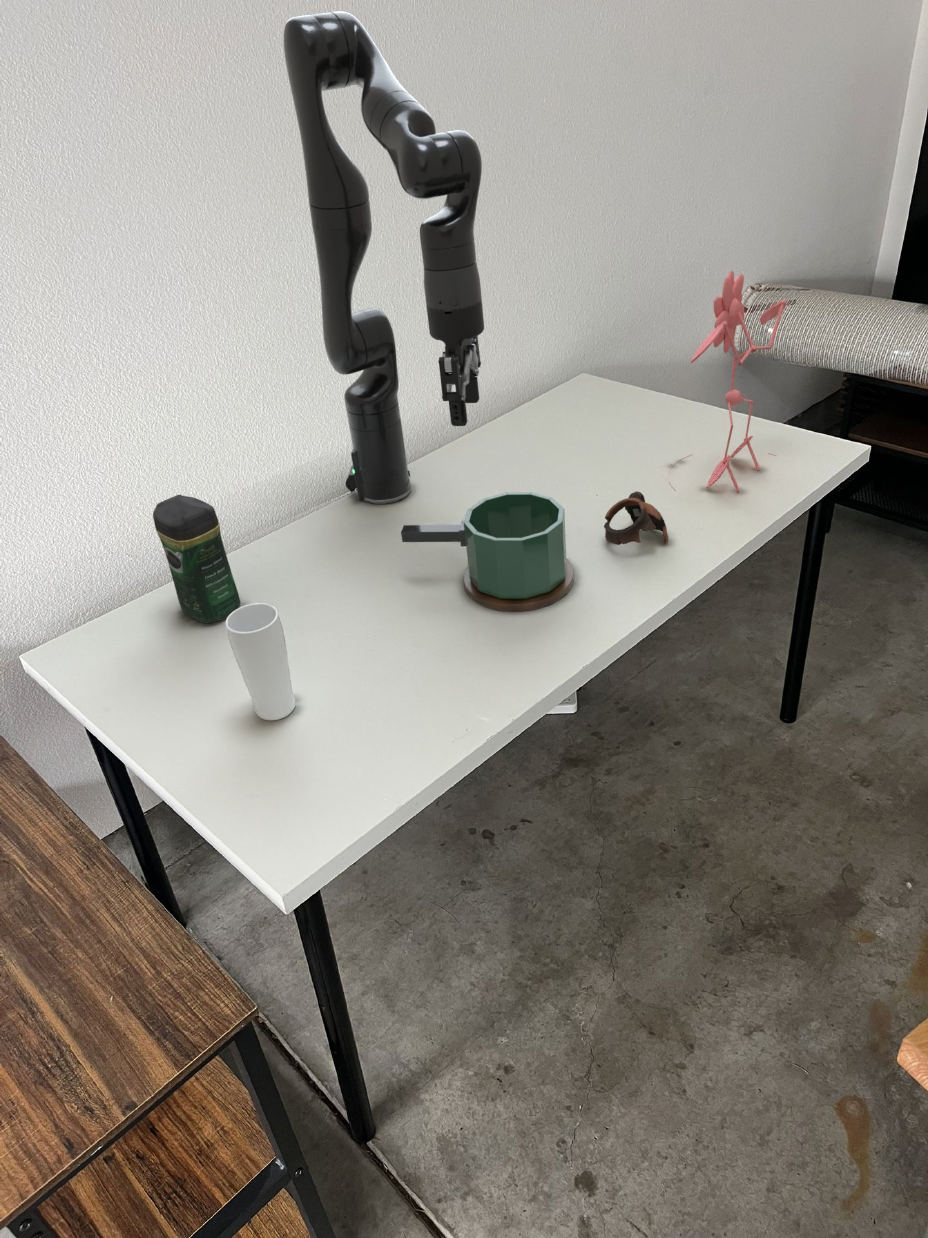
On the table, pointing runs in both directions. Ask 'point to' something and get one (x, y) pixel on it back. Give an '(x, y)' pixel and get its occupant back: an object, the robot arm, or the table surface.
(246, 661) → the drinking glass
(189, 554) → the coffee jar
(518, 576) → the pot
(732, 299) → the figurine
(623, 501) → the brown ring-shaped piece
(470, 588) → the disc
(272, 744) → the table surface
